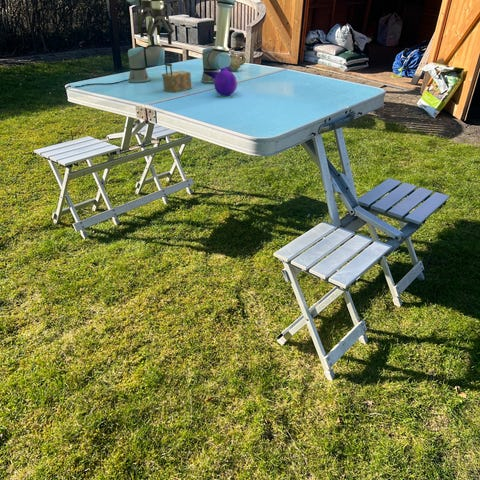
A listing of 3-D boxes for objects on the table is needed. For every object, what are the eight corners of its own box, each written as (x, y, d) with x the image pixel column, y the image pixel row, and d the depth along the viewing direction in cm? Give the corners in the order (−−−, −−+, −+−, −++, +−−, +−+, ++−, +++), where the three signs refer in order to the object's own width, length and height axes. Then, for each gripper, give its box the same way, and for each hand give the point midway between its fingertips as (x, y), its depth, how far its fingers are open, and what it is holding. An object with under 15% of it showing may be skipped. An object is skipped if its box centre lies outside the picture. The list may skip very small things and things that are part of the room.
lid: (171, 77, 298) (170, 64, 293) (161, 76, 304) (160, 63, 300) (190, 74, 308) (189, 61, 304) (181, 72, 314) (180, 59, 310)
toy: (224, 88, 311) (237, 101, 290) (200, 83, 303) (211, 96, 283) (230, 64, 302) (243, 76, 282) (205, 59, 295) (217, 71, 274)
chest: (173, 92, 303) (172, 77, 298) (164, 90, 309) (162, 75, 304) (191, 88, 313) (190, 74, 308) (182, 86, 319) (181, 72, 314)
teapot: (225, 73, 359) (225, 53, 352) (218, 71, 368) (218, 51, 360) (248, 70, 368) (248, 50, 361) (241, 68, 377) (241, 49, 369)
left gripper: (133, 1, 277) (138, 38, 288) (165, -1, 292) (169, 35, 303) (126, 1, 282) (131, 37, 292) (159, -1, 297) (162, 34, 308)
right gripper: (145, 10, 269) (149, 48, 280) (177, 7, 285) (180, 44, 295) (137, 9, 274) (142, 47, 285) (170, 7, 289) (173, 43, 300)
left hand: (150, 36), depth 298 cm, fingers open, 13 cm apart
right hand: (161, 45), depth 290 cm, fingers open, 13 cm apart
